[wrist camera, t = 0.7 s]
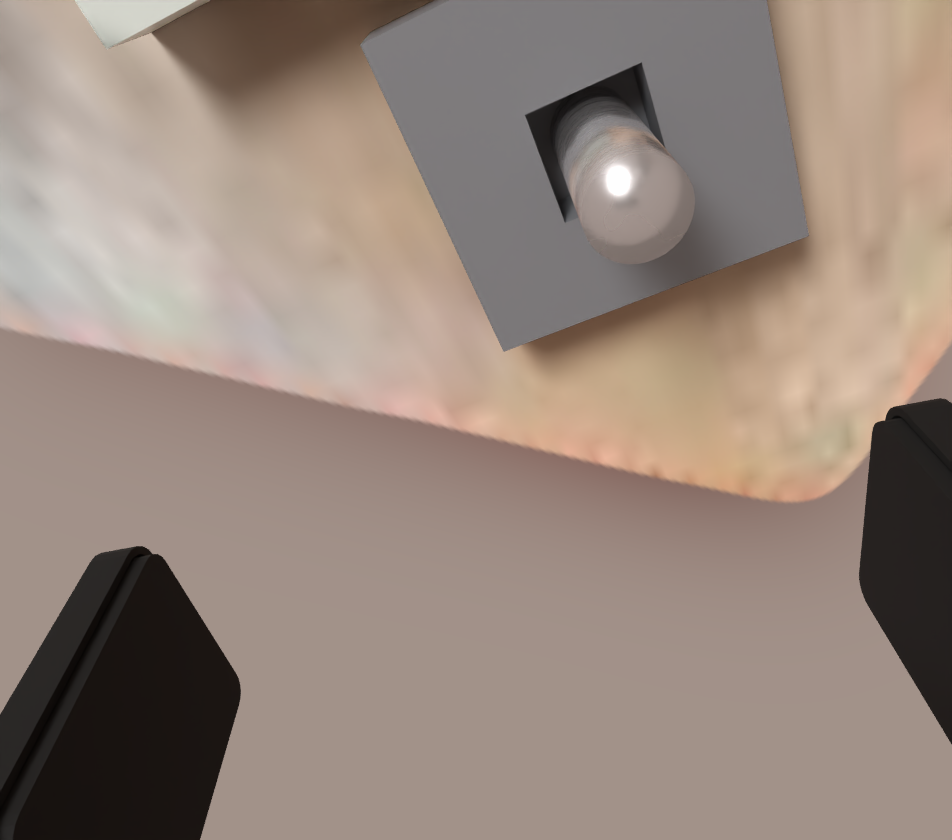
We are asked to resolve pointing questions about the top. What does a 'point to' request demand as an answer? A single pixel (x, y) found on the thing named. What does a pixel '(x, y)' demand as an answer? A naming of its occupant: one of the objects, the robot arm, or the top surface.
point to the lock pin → (620, 177)
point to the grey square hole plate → (533, 158)
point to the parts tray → (132, 17)
